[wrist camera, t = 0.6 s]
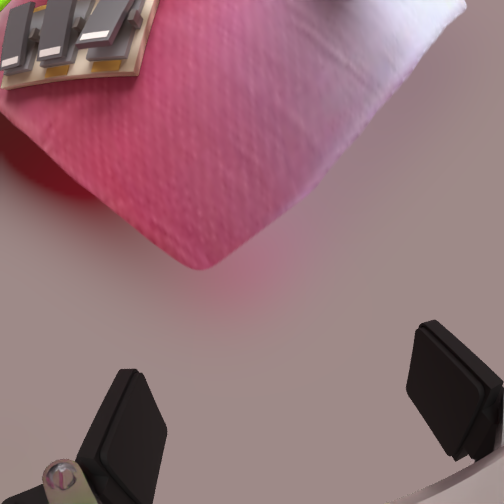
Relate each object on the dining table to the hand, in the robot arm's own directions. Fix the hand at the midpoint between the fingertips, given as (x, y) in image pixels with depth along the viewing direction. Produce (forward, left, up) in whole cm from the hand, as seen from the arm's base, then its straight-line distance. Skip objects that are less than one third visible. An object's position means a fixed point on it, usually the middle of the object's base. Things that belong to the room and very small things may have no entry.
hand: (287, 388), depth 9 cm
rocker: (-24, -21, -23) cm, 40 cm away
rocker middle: (-24, -29, -23) cm, 44 cm away
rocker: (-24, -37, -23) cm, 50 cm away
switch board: (-24, -29, -28) cm, 47 cm away
